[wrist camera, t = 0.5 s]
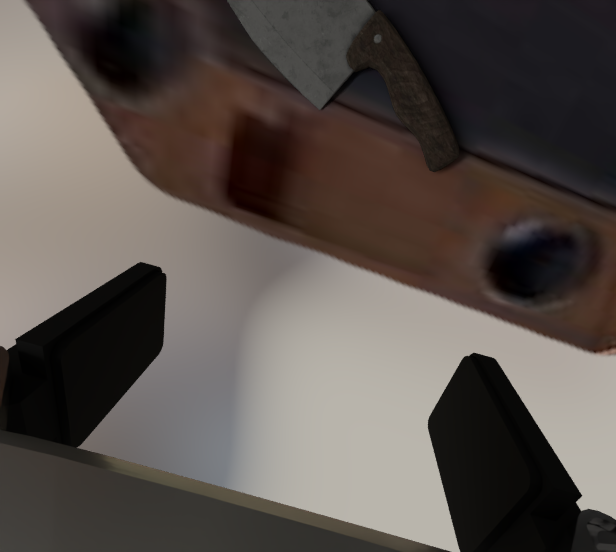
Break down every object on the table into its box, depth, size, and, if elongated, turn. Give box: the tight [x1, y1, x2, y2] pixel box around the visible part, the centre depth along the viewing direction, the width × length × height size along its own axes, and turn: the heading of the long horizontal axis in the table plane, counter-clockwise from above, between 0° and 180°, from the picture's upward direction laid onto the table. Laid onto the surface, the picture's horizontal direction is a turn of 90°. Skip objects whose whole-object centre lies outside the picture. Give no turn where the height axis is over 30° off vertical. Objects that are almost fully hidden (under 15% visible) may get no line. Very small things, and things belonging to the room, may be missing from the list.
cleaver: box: [227, 0, 460, 172], centre depth 31 cm, size 30×10×2 cm, turn 46°
